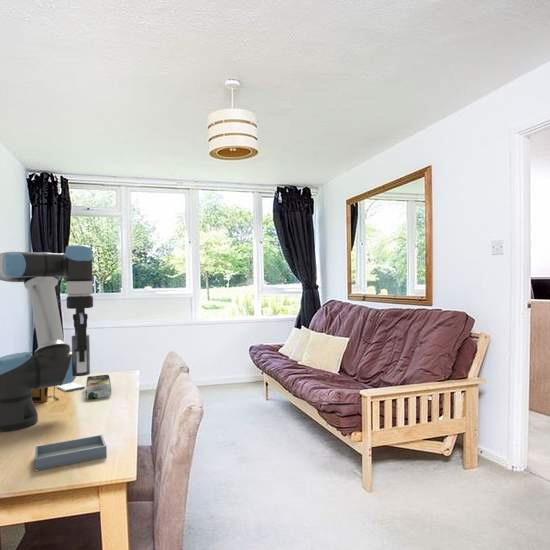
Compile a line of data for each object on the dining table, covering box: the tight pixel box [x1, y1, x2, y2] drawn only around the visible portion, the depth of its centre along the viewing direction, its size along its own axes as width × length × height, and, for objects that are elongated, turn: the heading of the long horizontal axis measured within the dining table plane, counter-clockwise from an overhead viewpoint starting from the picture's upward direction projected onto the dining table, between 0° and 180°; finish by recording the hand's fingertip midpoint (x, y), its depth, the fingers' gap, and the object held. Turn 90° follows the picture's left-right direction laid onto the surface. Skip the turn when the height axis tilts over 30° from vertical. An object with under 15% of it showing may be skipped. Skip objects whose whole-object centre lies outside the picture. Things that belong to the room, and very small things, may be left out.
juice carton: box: [85, 374, 112, 400], centre depth 187 cm, size 20×10×6 cm, turn 23°
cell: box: [71, 333, 91, 377], centre depth 135 cm, size 5×5×13 cm
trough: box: [34, 434, 108, 471], centre depth 119 cm, size 10×17×3 cm, turn 118°
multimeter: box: [29, 351, 59, 403], centre depth 178 cm, size 15×10×20 cm
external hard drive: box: [55, 381, 86, 393], centre depth 196 cm, size 2×8×12 cm
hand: (81, 370), depth 135 cm, fingers closed on cell, 5 cm apart
